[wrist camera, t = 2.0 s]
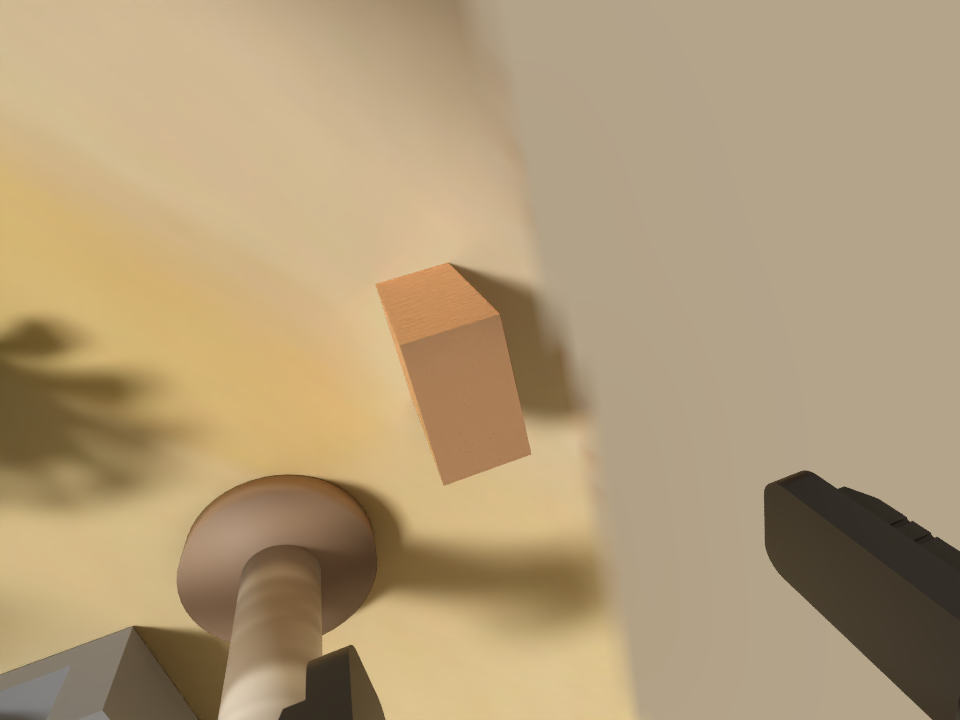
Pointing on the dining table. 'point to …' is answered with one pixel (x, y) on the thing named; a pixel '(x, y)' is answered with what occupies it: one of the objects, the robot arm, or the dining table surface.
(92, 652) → the grooved channel block
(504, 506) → the dining table surface
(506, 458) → the copper tab
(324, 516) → the bobbin
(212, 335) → the dining table surface
